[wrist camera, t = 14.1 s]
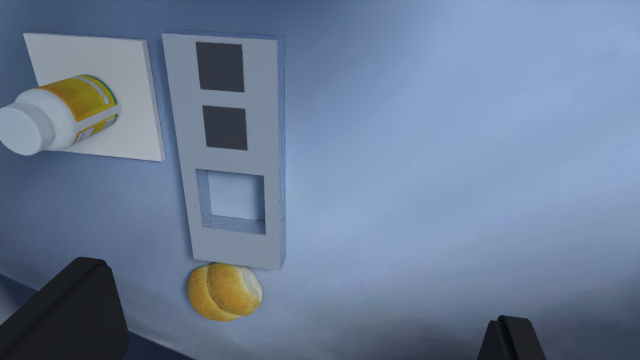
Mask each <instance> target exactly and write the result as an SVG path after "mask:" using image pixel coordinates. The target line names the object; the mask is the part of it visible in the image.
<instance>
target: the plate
mask: <svg viewBox="0 0 640 360" xmlns="http://www.w3.org/2000/svg"><path fill="white" fill-rule="evenodd" d="M23 35H24V39H25V42H26V45H27V49H28V52H29V55H30V59H31V62H32V65H33V69H34V72H35V76H36V79H37V82H38V86H39V87H40V86H44V85H47V84H50V83H54V82H57V81H61V80H64V79H67V78H71V77H75V76H78V75H82V74H93V75H96V76H99V77H101V78H103V79H104V80H106V81H107V82H108V83H109V84H110V85H111V86H112V87H113V88H114V90H115V91H116V93H117V94H118V96H119V99H120V103H121V114H120V117H119V119H118V120H117V121H116V122H115V123H114V124H113V125H111V126H110V127H108V128H106V129H104V130H102V131H100V132H98V133H96V134H94V135H92V136H90V137H88V138H86V139H84V140H82V141H80V142H78V143H76V144H74V145H72V146H70V147H68V148H66V149H63V150H59V151H65V152H74V153H84V154H94V155H103V156H113V157H123V158H132V159H142V160H152V161H161V162H162V161H163V160H164V159H166V157H165V151H164V145H163V139H162V133H161V126H160V120H159V114H158V108H157V102H156V95H155V89H154V83H153V77H152V71H151V64H150V58H149V52H148V46H147V40H145V39H129V38H113V37H97V36H81V35H65V34H49V33H33V32H28V33H23Z"/></svg>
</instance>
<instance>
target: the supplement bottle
mask: <svg viewBox="0 0 640 360" xmlns="http://www.w3.org/2000/svg"><path fill="white" fill-rule="evenodd" d="M120 114H121V103H120V99H119V96H118V94H117V93H116V91H115V90H114V88H113V87H112V86H111V85H110V84H109V83H108V82H107V81H106V80H104V79H103V78H101V77H99V76H96V75H93V74H82V75H78V76H75V77H71V78H67V79H64V80H61V81H57V82H54V83H50V84H47V85H44V86H40V87H37V88H33V89H30V90H27V91H25V92H23V93H21V94H20V95H19V96H18V97H17V98H16V100H15V102H14V103H13V104H10V105H8V106H5V107H2V108H0V141H1V142H2V143H3V144H4V145H5V146H6V147H7V148H9V149H10V150H12V151H13V152H15V153H18V154H21V155H33V154H36V153H38V152H40V151H43V150H48V151H59V150H63V149H66V148H68V147H70V146H72V145H74V144H76V143H78V142H80V141H82V140H84V139H86V138H88V137H90V136H92V135H94V134H96V133H98V132H100V131H102V130H104V129H106V128H108V127H110V126H111V125H113V124H114V123H115V122H116V121H117V120H118V119H119V117H120Z"/></svg>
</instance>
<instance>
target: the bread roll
mask: <svg viewBox="0 0 640 360" xmlns="http://www.w3.org/2000/svg"><path fill="white" fill-rule="evenodd" d="M187 293H188V298H189V301H190V303H191V305H192V306H193V308H194V309H195V310H196V312H198V313H199V314H200V315H201V316H203V317H205V318H207V319H211V320H216V321H223V322H226V321H232V320H235V319H238V318H240V317H242V316H248V315H250V314H252V313H253V312H254V311H255V310H256V309H257V308H258V307H259V306H260V303H261V301H262V288H261V286H260V284H259V282H258V280H257V278H256V276H255V275H254V274H253V273H252V272H251V270H250V269H249V268H248V267H246V266H242V265H234V264H227V263H220V262H215V263H213V264H210V265H207V266H203V267H199V268H197V269H195V270H194V271H193V272H192V274H191V275H190V277H189V281H188V285H187Z"/></svg>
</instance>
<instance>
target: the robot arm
mask: <svg viewBox="0 0 640 360" xmlns="http://www.w3.org/2000/svg"><path fill="white" fill-rule="evenodd" d="M129 346H130V336H129V332H128V329H127V325H126V321H125V317H124V314H123V310H122V306H121V303H120V299H119V295H118V292H117V288H116V284H115V280H114V277H113V273H112V270H111V268H110V267H109V266H107V264H106V262H105V261H104V260H101V259H94V258H87V257H78V258H76V259H75V260H73V261H72V262H71V263H70V264H69V265H68V266H67V267H65V268H64V269H63V270H62V271H61V272H60V273H59V274H58V275H56V276H55V277H54V278H53V279H52V280H51V281H50V282H49V283H48V284H46V285H45V286H44V287H43V288H42V289H41V290H40V291H39V292H37V293H36V294H35V295H34V296H33V297H32V298H31V299H30V300H28V301H27V302H26V303H25V304H24V305H23V306H22V307H21V308H19V309H18V310H17V311H16V312H15V313H14V314H13V315H12V316H10V317H9V318H8V319H7V320H6V321H5V322H4V323H3V324H1V325H0V360H122V359H123V357H124V356H125V355H126V353H127V351H128V349H129ZM477 360H546V358H545V355H544V353H543V350H542V348H541V346H540V343H539V341H538V338H537V336H536V333H535V331H534V329H533V326H532V324H531V322H530V321H529V320H528V319H526V318H518V317H511V316H504V315H500V316H499V317H498V319H497V321H492V320H491V321H490V322H489V324H488V327H487V330H486V334H485V337H484V340H483V343H482V346H481V349H480V352H479V355H478V358H477Z"/></svg>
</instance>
